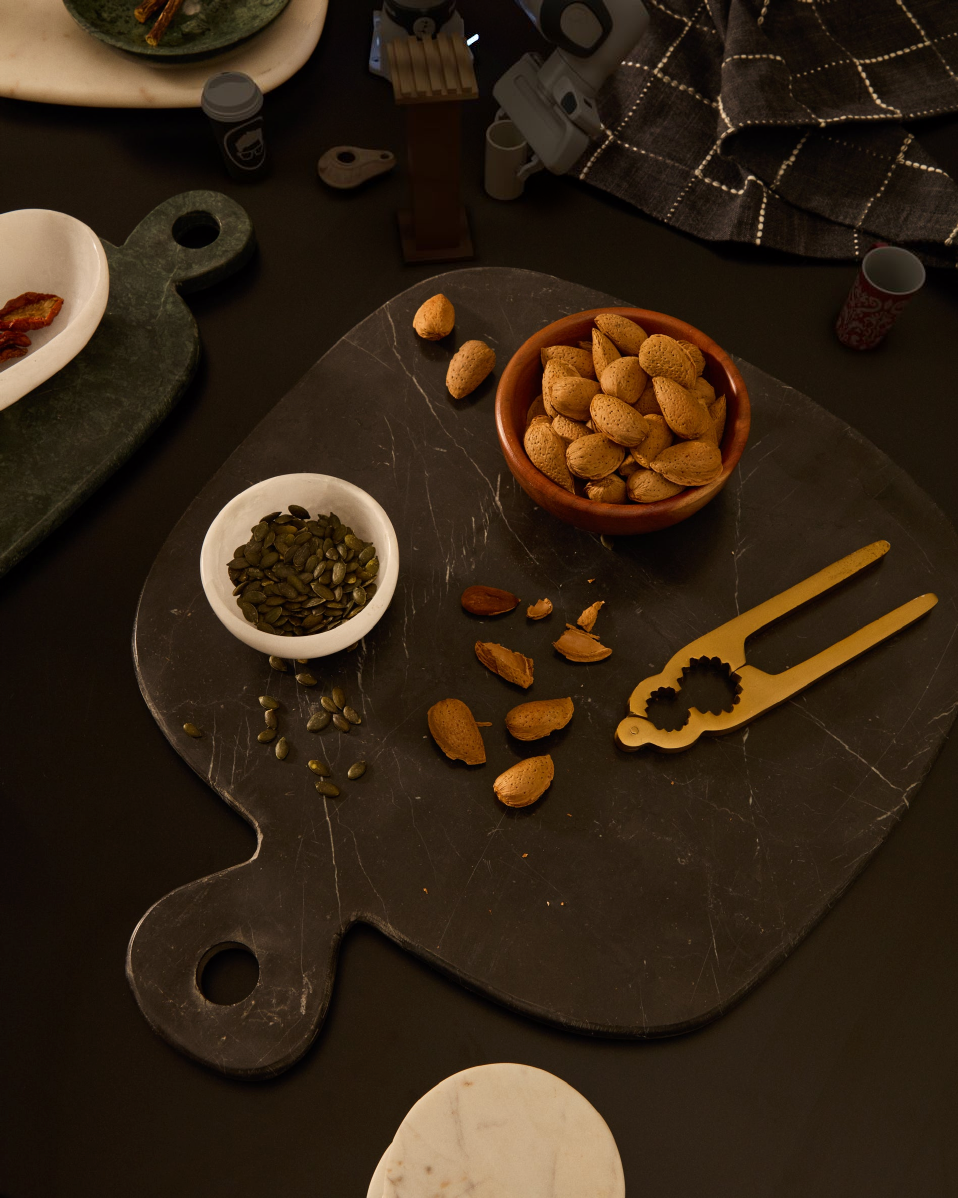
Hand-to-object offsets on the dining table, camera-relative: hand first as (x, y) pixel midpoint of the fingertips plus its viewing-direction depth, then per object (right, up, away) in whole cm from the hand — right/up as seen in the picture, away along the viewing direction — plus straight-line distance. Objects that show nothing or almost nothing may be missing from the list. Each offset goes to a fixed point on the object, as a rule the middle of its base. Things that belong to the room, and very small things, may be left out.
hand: (504, 157), depth 157 cm
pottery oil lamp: (-24, -2, +5) cm, 25 cm away
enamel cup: (0, -2, +5) cm, 6 cm away
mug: (+55, -28, -5) cm, 62 cm away
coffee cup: (-43, +1, +6) cm, 43 cm away
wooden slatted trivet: (-11, 0, -27) cm, 29 cm away
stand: (-11, -13, 0) cm, 17 cm away
